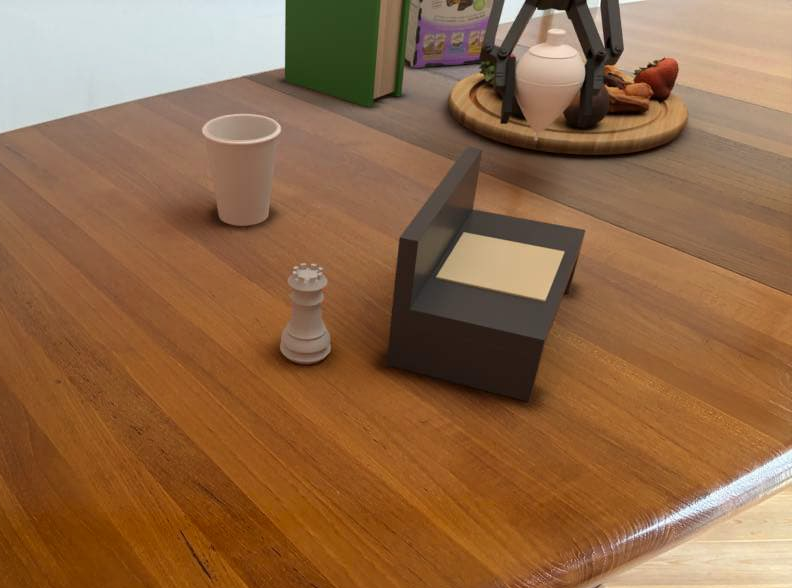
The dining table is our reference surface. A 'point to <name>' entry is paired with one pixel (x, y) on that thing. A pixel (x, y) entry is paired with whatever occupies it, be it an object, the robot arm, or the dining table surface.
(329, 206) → the dining table surface
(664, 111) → the wooden plate
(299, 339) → the rook chess piece
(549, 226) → the dark l-shaped stand
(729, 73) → the dining table surface
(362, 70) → the hardback book
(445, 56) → the candy box
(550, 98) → the spinning top
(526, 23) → the robot arm
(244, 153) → the dixie cup
